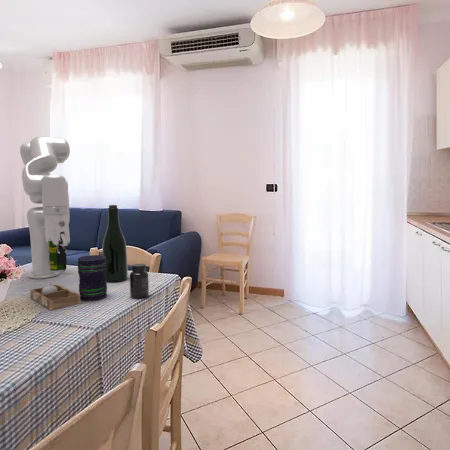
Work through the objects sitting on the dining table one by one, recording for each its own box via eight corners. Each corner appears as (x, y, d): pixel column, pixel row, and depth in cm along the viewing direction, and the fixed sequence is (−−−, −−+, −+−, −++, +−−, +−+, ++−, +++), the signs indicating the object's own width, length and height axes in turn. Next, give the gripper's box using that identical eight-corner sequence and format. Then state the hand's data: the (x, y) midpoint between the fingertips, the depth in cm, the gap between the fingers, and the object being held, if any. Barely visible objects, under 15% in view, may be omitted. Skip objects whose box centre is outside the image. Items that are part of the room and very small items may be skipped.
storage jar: (95, 302, 128) (93, 261, 126) (73, 299, 131) (71, 259, 130) (112, 294, 137) (111, 256, 135) (92, 292, 141) (90, 254, 139)
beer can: (58, 268, 129) (56, 235, 128) (70, 269, 127) (68, 236, 126) (46, 272, 124) (44, 237, 123) (58, 273, 122) (56, 238, 121)
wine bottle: (115, 275, 166) (113, 203, 162) (132, 278, 161) (130, 204, 157) (97, 280, 157) (94, 205, 153) (115, 283, 152) (112, 205, 148)
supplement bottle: (147, 292, 140) (146, 262, 138) (149, 297, 133) (149, 266, 132) (129, 294, 137) (128, 263, 136) (130, 299, 131) (129, 267, 130)
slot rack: (29, 297, 133) (29, 290, 133) (58, 291, 141) (57, 284, 140) (50, 310, 120) (49, 301, 120) (80, 303, 127) (80, 294, 127)
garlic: (49, 294, 137) (49, 281, 137) (61, 296, 136) (60, 282, 135) (37, 299, 131) (36, 285, 131) (49, 301, 130) (48, 286, 129)
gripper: (77, 212, 120) (79, 265, 122) (56, 209, 132) (58, 258, 134) (53, 213, 115) (56, 269, 117) (34, 210, 127) (37, 261, 129)
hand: (57, 262), depth 125 cm, fingers closed on beer can, 5 cm apart
